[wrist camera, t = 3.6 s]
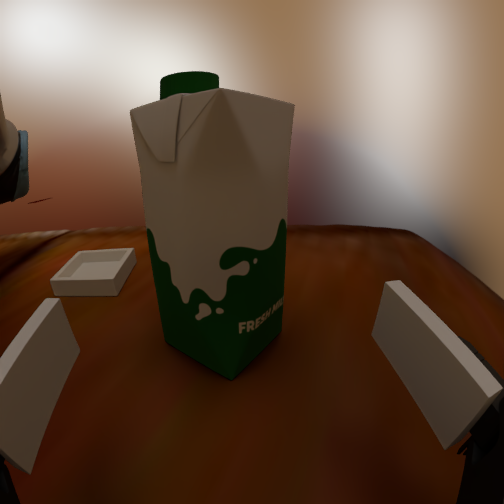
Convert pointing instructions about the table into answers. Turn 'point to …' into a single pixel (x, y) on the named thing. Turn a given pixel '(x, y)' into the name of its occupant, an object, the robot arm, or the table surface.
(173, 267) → the milk carton
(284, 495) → the table surface
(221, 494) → the table surface
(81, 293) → the small square white tray
